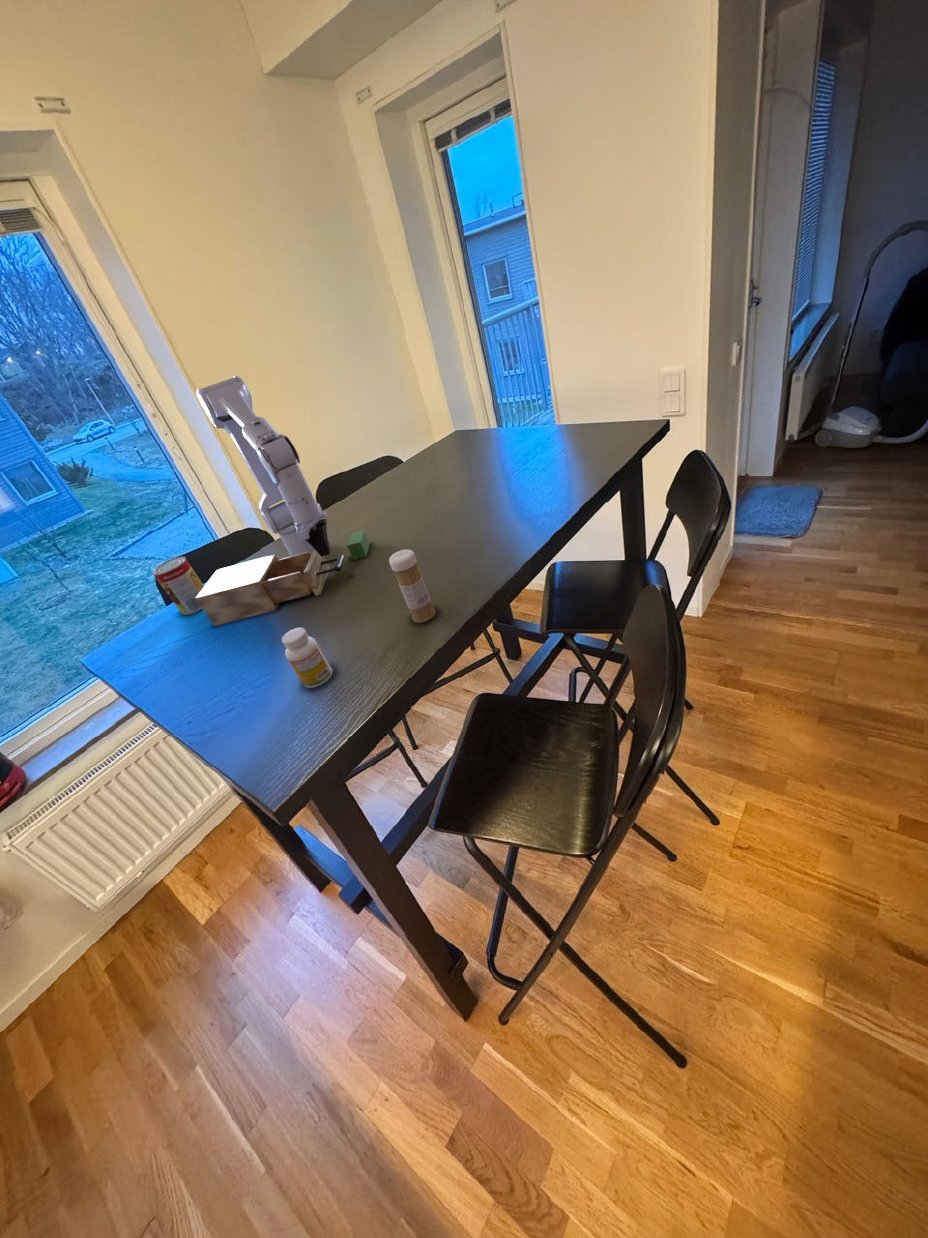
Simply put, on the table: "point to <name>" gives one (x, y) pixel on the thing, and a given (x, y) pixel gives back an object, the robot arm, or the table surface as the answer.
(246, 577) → the cabinet
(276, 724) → the table surface
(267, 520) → the robot arm
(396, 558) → the sprinkles bottle
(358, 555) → the green block
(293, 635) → the supplement bottle
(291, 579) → the drawer
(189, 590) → the canned food
